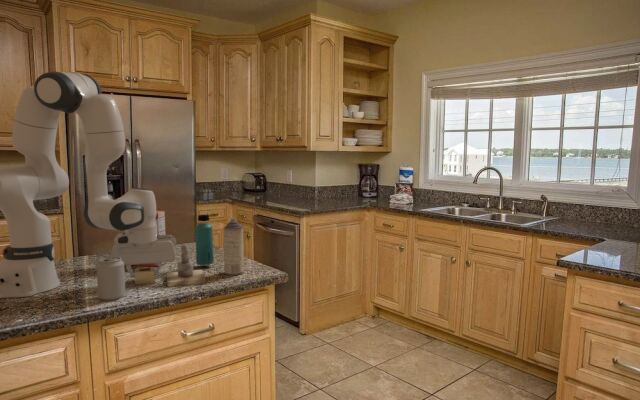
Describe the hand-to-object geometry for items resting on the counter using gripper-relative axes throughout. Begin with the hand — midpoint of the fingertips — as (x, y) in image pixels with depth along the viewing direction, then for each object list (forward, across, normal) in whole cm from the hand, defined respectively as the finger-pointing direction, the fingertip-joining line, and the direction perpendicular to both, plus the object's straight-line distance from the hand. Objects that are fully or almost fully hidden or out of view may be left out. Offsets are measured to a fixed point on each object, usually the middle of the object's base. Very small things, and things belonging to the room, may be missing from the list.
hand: (144, 276), depth 148 cm
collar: (+2, 0, 0) cm, 2 cm away
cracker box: (+2, +1, -23) cm, 23 cm away
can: (+2, +8, +14) cm, 17 cm away
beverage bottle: (+2, -20, -13) cm, 24 cm away
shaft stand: (+2, -13, +2) cm, 13 cm away
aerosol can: (+2, -30, -1) cm, 30 cm away
